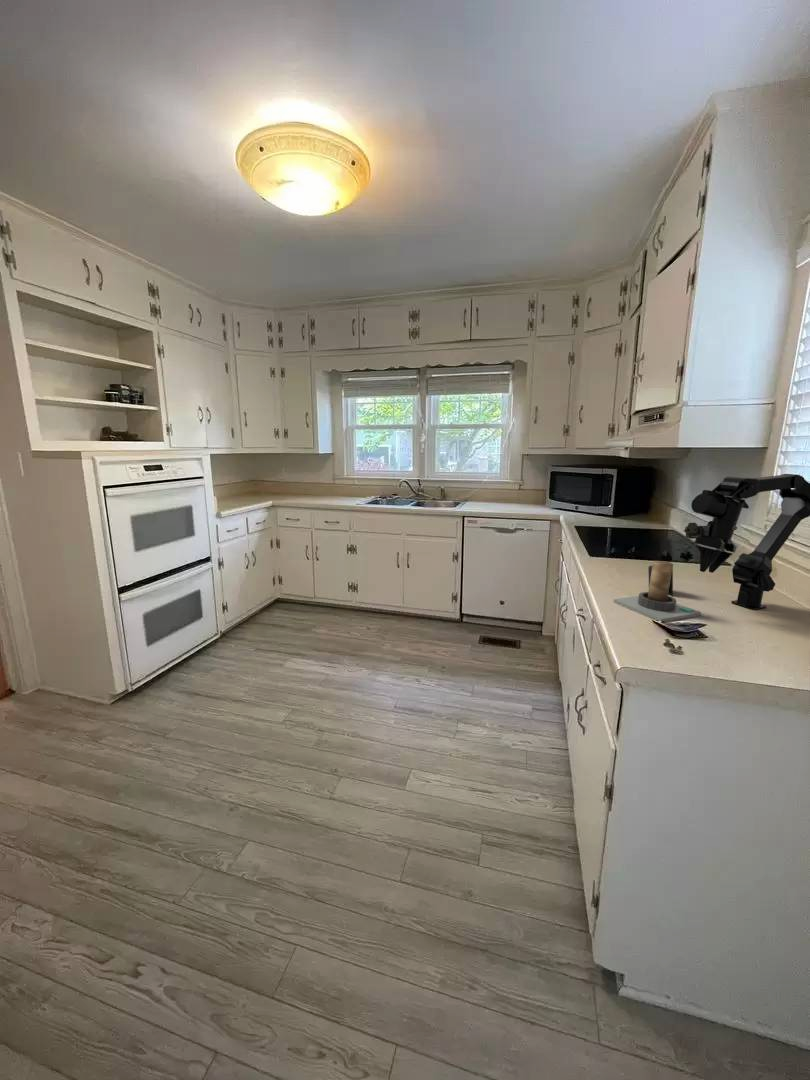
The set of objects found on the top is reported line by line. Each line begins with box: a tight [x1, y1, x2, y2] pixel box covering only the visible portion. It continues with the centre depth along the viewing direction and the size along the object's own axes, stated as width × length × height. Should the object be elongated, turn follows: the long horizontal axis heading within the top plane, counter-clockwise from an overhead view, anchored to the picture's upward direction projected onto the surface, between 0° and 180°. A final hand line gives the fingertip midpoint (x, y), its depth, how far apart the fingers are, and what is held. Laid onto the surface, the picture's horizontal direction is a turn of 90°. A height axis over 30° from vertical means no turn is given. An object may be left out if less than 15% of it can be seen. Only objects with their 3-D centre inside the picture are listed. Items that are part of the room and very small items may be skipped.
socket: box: [613, 591, 702, 622], centre depth 126 cm, size 16×16×4 cm
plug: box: [647, 560, 674, 602], centre depth 125 cm, size 5×5×13 cm
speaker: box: [647, 560, 674, 597], centre depth 141 cm, size 8×6×10 cm
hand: (706, 572), depth 125 cm, fingers open, 9 cm apart
